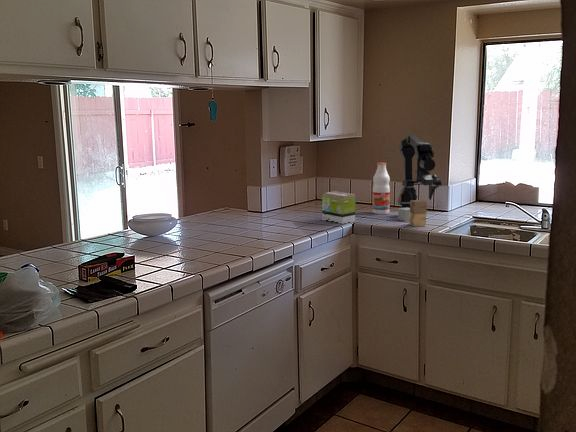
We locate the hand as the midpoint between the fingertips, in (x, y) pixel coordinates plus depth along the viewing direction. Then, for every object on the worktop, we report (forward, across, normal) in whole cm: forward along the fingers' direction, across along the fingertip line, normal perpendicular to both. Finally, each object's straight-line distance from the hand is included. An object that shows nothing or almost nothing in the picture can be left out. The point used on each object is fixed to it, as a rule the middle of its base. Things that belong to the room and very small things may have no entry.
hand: (421, 199), depth 289 cm
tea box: (+13, -37, +18) cm, 43 cm away
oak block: (+12, -2, -2) cm, 13 cm away
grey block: (+12, -2, +12) cm, 18 cm away
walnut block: (+6, -2, -1) cm, 7 cm away
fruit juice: (+13, -8, +35) cm, 38 cm away
